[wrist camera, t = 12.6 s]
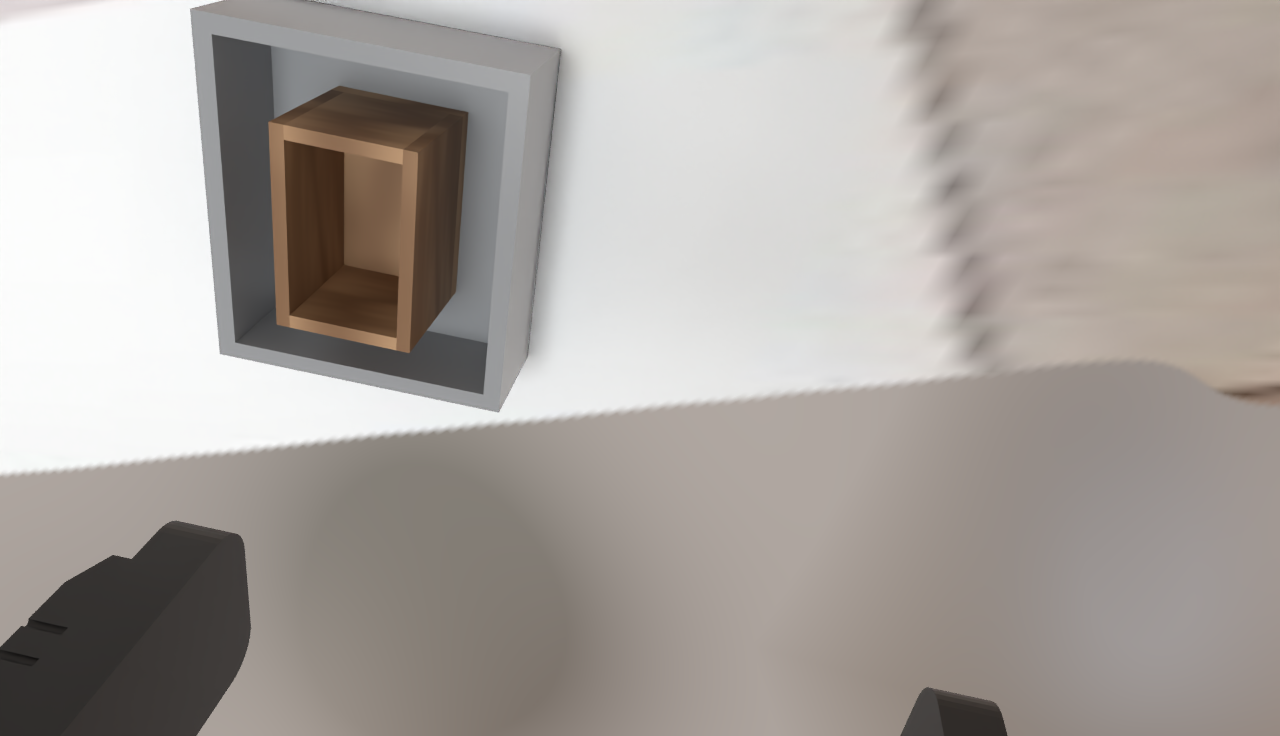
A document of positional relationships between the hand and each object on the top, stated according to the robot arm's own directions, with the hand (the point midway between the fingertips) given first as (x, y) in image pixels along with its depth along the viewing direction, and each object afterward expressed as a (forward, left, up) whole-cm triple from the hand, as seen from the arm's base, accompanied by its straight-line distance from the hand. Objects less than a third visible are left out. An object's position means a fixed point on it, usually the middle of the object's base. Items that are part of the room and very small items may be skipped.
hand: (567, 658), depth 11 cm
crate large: (+14, +8, -33) cm, 37 cm away
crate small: (+14, +8, -32) cm, 36 cm away
